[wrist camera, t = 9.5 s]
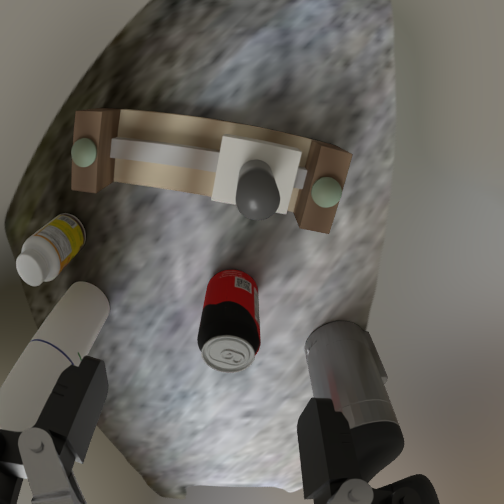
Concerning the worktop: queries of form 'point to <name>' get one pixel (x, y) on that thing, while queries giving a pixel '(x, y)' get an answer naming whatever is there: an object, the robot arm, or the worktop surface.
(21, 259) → the supplement bottle
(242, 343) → the beverage can
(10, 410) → the cylindrical container
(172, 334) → the worktop surface
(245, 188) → the carriage
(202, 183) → the rail
